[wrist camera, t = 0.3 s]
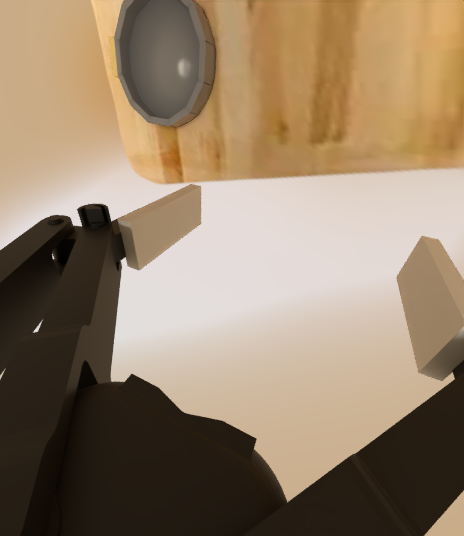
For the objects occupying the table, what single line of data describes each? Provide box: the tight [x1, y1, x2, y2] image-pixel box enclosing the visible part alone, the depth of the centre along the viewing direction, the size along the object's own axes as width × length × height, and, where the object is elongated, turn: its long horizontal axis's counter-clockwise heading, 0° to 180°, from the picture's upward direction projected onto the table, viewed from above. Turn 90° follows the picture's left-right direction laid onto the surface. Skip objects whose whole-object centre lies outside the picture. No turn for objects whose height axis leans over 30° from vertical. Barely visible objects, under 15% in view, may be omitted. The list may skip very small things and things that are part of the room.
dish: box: [109, 0, 216, 127], centre depth 38 cm, size 17×18×3 cm
